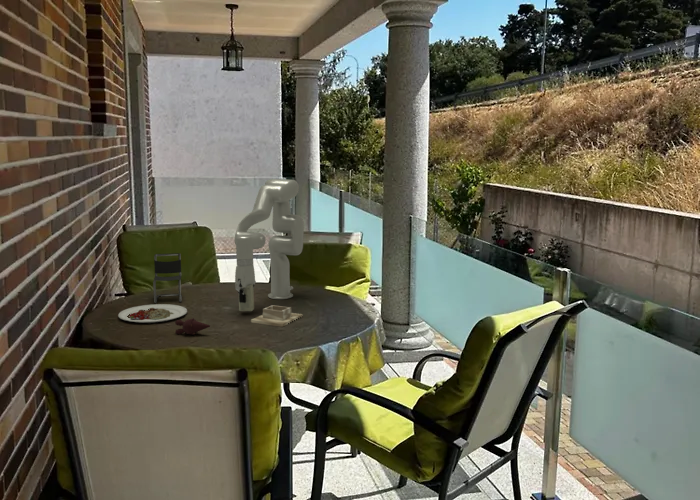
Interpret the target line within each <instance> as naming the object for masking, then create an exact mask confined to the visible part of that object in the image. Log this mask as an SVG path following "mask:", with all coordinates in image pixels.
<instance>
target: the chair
mask: <svg viewBox="0 0 700 500" xmlns="http://www.w3.org/2000/svg"><path fill="white" fill-rule="evenodd" d="M181 255H182V254H181V253H179V252H178V253H156V254H154V255H153V258H154V259H153V260H154V263H153V264H154V278H153V283H152V287H153V302H154V303H155V304H157V303H158V299H159V298H160V297H159V296H161V297H176V296H177V297H178V302H179V303H181V302H182V299H183V294H182V286H181V281H182V258H181V257H182V256H181ZM167 256H169V257H170V256H171V257H172V256H173V257H175V256H178V260H172V261H162V260H161V261H158V260H157V257H167ZM158 274H178V275H176V276H175V275H174V276H158ZM157 281H159V282H166V281H167V282H169V281H170V282H171V281H177V282H178V287H177V288H178V293H164V294H163V293H161V294H157V290H156V288H157V287H156V285H157V284H156V282H157Z"/></svg>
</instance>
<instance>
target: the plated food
mask: <svg viewBox="0 0 700 500" xmlns="http://www.w3.org/2000/svg"><path fill="white" fill-rule="evenodd" d="M148 309H149V310H148ZM144 310H145V311H144ZM187 313H188V309H187V308H186V307H185V306H181V305H177V304H169V303H168V304H166V303H164V304H163V303H161V304H160V303H158V304H157V303H155V304H144V305H138V306H133V307H129V308H126V309H123V310H121V311H120V312H119V313H118V315H117V316H118V318H119V319H120V320H123V321H126V322H134V323H140V324H141V323H143V324H151V323H163V322H168V321H171V320H174V319H177V318H181V317H183V316H184V315H187ZM129 314H130V316H129V317H130V318H128V317H127V316H128V315H129Z"/></svg>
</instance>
